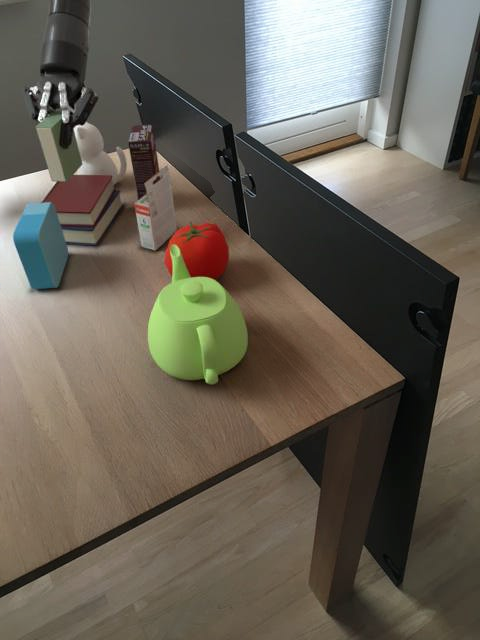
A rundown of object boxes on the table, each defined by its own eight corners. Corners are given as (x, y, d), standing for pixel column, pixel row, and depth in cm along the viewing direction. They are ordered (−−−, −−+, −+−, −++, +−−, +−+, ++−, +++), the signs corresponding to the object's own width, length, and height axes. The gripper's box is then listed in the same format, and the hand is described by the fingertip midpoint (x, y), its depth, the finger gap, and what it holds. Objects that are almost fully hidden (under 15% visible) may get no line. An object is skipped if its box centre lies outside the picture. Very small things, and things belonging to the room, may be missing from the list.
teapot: (140, 314, 91) (126, 250, 82) (224, 295, 94) (220, 232, 85) (164, 412, 75) (150, 346, 67) (266, 386, 78) (265, 319, 69)
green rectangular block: (51, 181, 97) (34, 126, 90) (67, 163, 102) (53, 110, 95) (66, 182, 96) (51, 127, 89) (82, 164, 101) (69, 111, 94)
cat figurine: (79, 177, 130) (63, 115, 120) (131, 173, 130) (120, 111, 120) (75, 195, 123) (57, 131, 113) (129, 191, 124) (117, 127, 114)
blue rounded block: (46, 254, 106) (28, 200, 98) (69, 253, 106) (53, 198, 98) (32, 292, 97) (10, 236, 89) (57, 291, 97) (38, 234, 89)
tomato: (245, 269, 99) (243, 221, 93) (201, 306, 92) (195, 257, 85) (199, 250, 105) (193, 204, 98) (154, 284, 97) (145, 236, 91)
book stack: (40, 242, 109) (29, 210, 104) (72, 202, 121) (63, 172, 116) (96, 246, 107) (88, 214, 102) (123, 205, 119) (117, 175, 114)
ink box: (141, 247, 106) (127, 179, 96) (163, 227, 111) (152, 161, 102) (156, 251, 105) (144, 183, 95) (178, 231, 110) (169, 164, 100)
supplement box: (162, 211, 116) (151, 140, 106) (139, 213, 116) (126, 142, 105) (163, 192, 123) (153, 123, 112) (142, 193, 122) (130, 125, 112)
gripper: (16, 37, 92) (4, 136, 91) (93, 38, 89) (81, 140, 89) (39, 60, 99) (28, 152, 98) (111, 62, 97) (100, 156, 96)
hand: (54, 146), depth 93 cm, fingers closed on green rectangular block, 3 cm apart
